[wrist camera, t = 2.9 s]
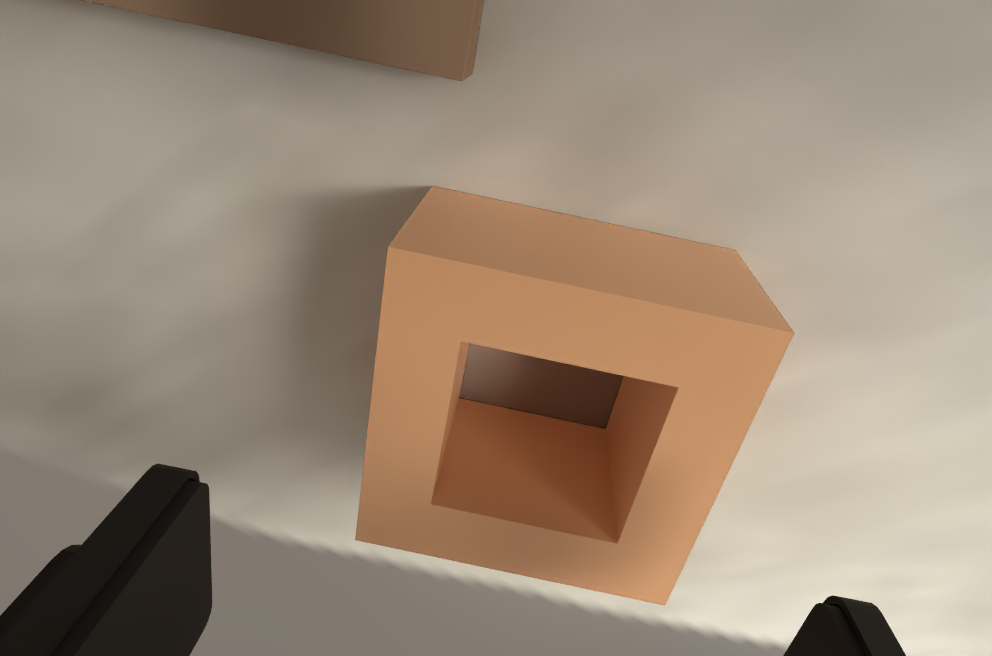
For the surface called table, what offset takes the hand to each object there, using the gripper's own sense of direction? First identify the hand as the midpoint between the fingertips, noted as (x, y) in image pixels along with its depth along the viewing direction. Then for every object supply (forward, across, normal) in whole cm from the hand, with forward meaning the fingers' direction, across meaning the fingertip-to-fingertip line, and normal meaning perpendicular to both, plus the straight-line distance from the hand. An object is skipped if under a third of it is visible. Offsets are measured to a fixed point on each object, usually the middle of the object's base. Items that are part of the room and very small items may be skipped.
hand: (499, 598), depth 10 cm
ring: (+7, -1, -1) cm, 7 cm away
